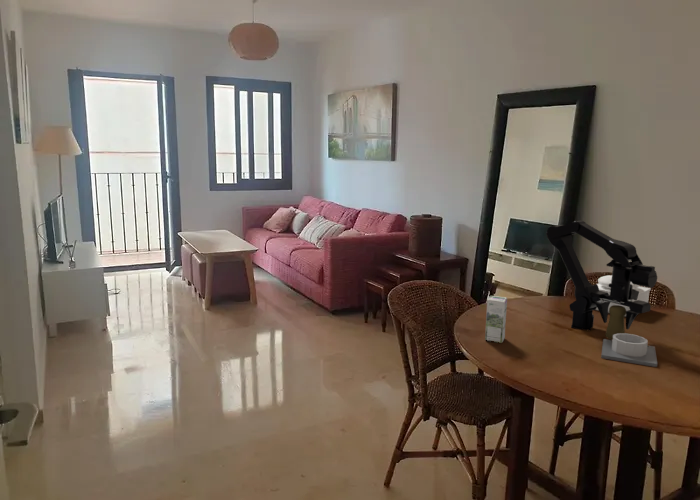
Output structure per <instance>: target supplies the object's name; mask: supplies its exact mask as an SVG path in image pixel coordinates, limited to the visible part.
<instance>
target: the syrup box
mask: <svg viewBox="0 0 700 500" xmlns="http://www.w3.org/2000/svg"><path fill="white" fill-rule="evenodd" d="M486 301H487V302H486V316H485V318H486V319H485V333H484V335H485V336H484V341H485V340H487V342H491V341H494V342H493V343H498V342H499V344H502V343H503V342H504V340H505V337H506V320H507V310H508V309H507V308H508V307H507V306H508V297H505V296H498V295H495V296H494V295H489V296H488V298H487V300H486Z"/></svg>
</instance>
